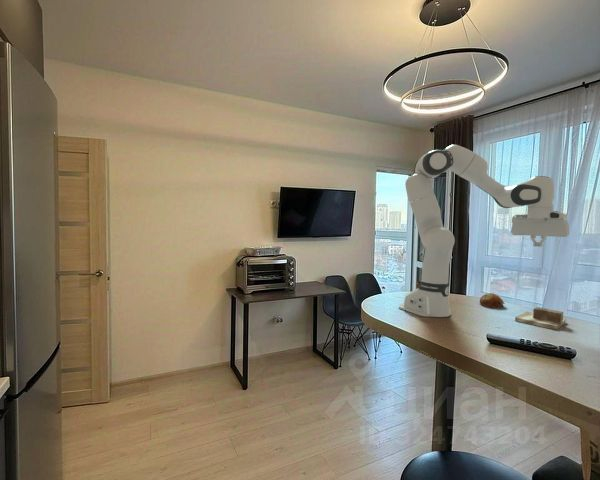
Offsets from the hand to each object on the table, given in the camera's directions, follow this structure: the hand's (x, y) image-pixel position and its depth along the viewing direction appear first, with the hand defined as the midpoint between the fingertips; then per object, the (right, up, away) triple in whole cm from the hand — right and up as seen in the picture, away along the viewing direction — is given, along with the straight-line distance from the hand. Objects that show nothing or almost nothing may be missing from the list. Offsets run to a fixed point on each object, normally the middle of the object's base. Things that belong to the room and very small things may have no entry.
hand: (537, 246), depth 140 cm
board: (-2, -32, -5) cm, 32 cm away
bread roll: (-8, -30, +20) cm, 37 cm away
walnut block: (-4, -28, -3) cm, 28 cm away
